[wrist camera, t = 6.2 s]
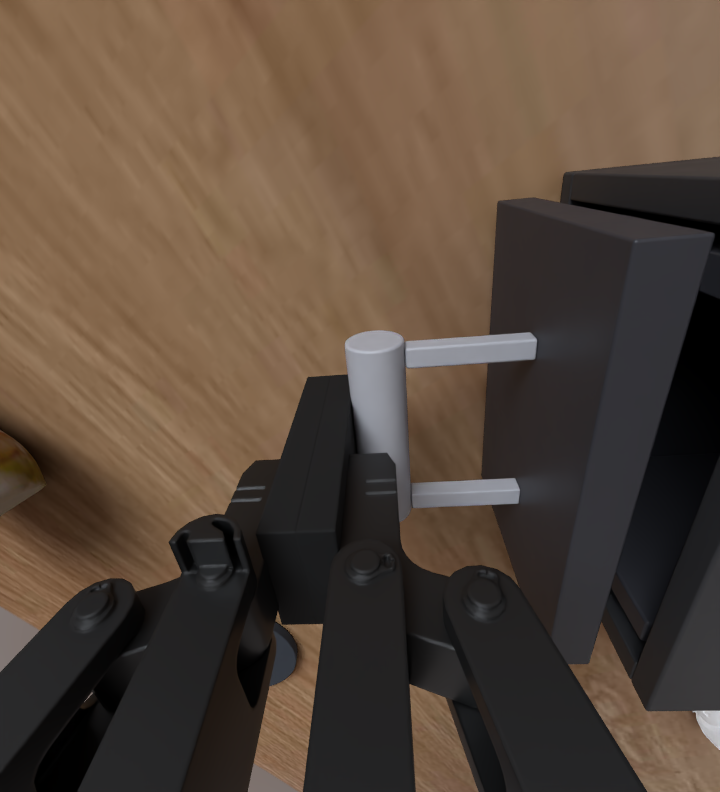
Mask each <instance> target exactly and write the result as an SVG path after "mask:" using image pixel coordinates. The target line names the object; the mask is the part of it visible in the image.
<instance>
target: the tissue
mask: <svg viewBox="0 0 720 792" xmlns="http://www.w3.org/2000/svg"><path fill="white" fill-rule="evenodd" d="M692 712H695V713H696V719H697V721H698V723H699V725H700V727H701V729H702V732H703V733H704V734H705V736H706V737H707V738H708V739H709V740H710V741H711V742H712V743H713V744H714V745H715V746H716V747H717V748H718V749H719V750H720V711H692Z"/></svg>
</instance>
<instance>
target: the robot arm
mask: <svg viewBox="0 0 720 792" xmlns="http://www.w3.org/2000/svg"><path fill="white" fill-rule="evenodd" d="M169 544H170V546H171V549H172V551H173V553H174V556H175V558H176V560H177V562H178V565H179V567H180V569H181V572H182V574H181V576H180V577H179V578H177V579H174V580H172V581H169V582H166V583H163V584H160V585H157V586H153V587H150V588H147V589H144V590H140V591H137V592H136V591H135V589H134V587H133V586H132V584H131V583H130V582H128V581H126V580H124V579H107V580H103V581H100V582H97V583H94V584H93V585H91V586H89V587H87V588H85V589H84V590H82V591H80V592H79V593H78V594H77V595H75V596H74V597H73V598H72V599H71V600H69V601H68V602H67V603H66V604H65V605H64V606H63V607H62V608H61V609H60V610H59V611H58V612H57V613H56V615H55V616H54V617H53V618H52V619H51V620H50V621H49V622H48V623H47V624H46V625H45V626H44V627H43V628H42V629H41V630H40V631H39V632H38V634H36V635H35V637H34V638H33V639H32V640H31V641H30V642H29V643H28V644H27V645H26V646H25V647H24V648H23V649H22V650H21V651H20V652H19V653H18V654H17V655H16V656H15V657H14V658H13V660H12V661H11V662H10V663H9V664H8V665H7V666H6V667H5V668H4V669H3V670H2V671H1V672H0V792H248V787H249V782H250V776H251V772H252V767H253V763H254V758H255V753H256V748H257V743H258V738H259V733H260V729H261V724H262V719H263V714H264V709H265V704H266V700H267V695H268V690H269V685H270V680H271V675H272V671H273V666H274V661H275V656H276V638H275V635H274V632H273V629H274V625H275V620H276V616H277V611H278V612H279V615H280V619H281V622H282V625H288V624H323V631H322V639H321V648H320V656H319V664H318V672H317V681H316V689H315V697H314V705H313V714H312V722H311V730H310V739H309V747H308V755H307V763H306V772H305V780H304V788H303V792H416V787H415V771H414V754H413V737H412V720H411V703H410V686H409V684H411V685H414V686H417V687H419V688H422V689H425V690H427V691H430V692H433V693H435V694H438V695H441V696H443V697H446V700H447V703H448V705H449V708H450V711H451V714H452V717H453V720H454V723H455V725H456V728H457V731H458V734H459V737H460V740H461V743H462V746H463V748H464V751H465V754H466V757H467V760H468V763H469V766H470V768H471V771H472V774H473V777H474V780H475V783H476V786H477V788H478V791H479V792H647V791H646V789H645V787H644V786H643V784H642V783H641V781H640V779H639V778H638V776H637V775H636V773H635V771H634V770H633V768H632V767H631V765H630V763H629V762H628V760H627V759H626V757H625V755H624V754H623V752H622V751H621V749H620V747H619V746H618V744H617V743H616V741H615V739H614V738H613V736H612V735H611V733H610V731H609V730H608V728H607V727H606V725H605V723H604V722H603V720H602V718H601V717H600V715H599V714H598V712H597V710H596V709H595V707H594V706H593V704H592V702H591V701H590V699H589V698H588V696H587V694H586V693H585V691H584V690H583V688H582V686H581V685H580V683H579V682H578V680H577V678H576V677H575V675H574V674H573V672H572V670H571V669H570V667H569V666H568V664H567V662H566V661H565V659H564V658H563V656H562V654H561V653H560V651H559V650H558V648H557V646H556V645H555V643H554V642H553V640H552V638H551V637H550V635H549V634H548V632H547V630H546V629H545V627H544V626H543V624H542V622H541V621H540V619H539V618H538V616H537V614H536V613H535V611H534V610H533V608H532V606H531V605H530V603H529V602H528V600H527V598H526V597H525V595H524V594H523V592H522V590H521V589H520V588H519V587H518V585H517V584H516V583H515V582H514V581H513V580H512V579H511V578H510V577H509V576H507V575H506V574H504V573H502V572H501V571H499V570H497V569H494V568H490V567H486V566H482V565H478V566H466V567H464V568H462V569H460V570H457V571H455V572H454V573H453V574H452V575H451V576H450V577H448V576H444V575H440V574H436V573H433V572H430V571H427V570H425V569H422V568H420V567H419V566H417V565H416V564H414V563H413V562H412V561H411V560H410V559H409V558H408V557H407V556H406V554H405V552H404V551H403V549H402V545H401V540H400V524H399V508H398V492H397V477H396V464H395V463H394V461H393V460H392V459H391V457H390V456H389V455H388V453H368V454H357V447H356V439H355V430H354V422H353V413H352V405H351V397H350V388H349V379H348V375H334V376H319V377H308V378H307V381H306V384H305V387H304V390H303V393H302V396H301V399H300V402H299V405H298V408H297V411H296V414H295V417H294V420H293V423H292V426H291V429H290V432H289V435H288V438H287V441H286V444H285V447H284V450H283V453H282V456H281V459H278V460H259V461H255V462H254V463H253V464H252V465H251V466H250V467H249V468H248V469H247V470H246V471H245V472H244V473H243V474H242V476H241V479H240V481H239V483H238V486H237V490H236V491H235V492H234V495H233V497H232V499H231V503H230V504H229V506H228V508H227V511H226V513H225V515H221V514H213V515H208V516H203V517H200V518H198V519H196V520H193V521H191V522H189V523H188V524H186V525H185V526H184V527H182V528H181V529H180V530H178V531H177V532H176V533H175V535H174V536H173V537H172V538H171V540H170V541H169ZM91 692H93V694H92V695H91V696H90V697H89V698H88V699H87V697H88V696H89V695H90V693H91ZM86 699H87V700H86ZM85 700H86V701H85ZM84 701H85V702H84Z"/></svg>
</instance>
